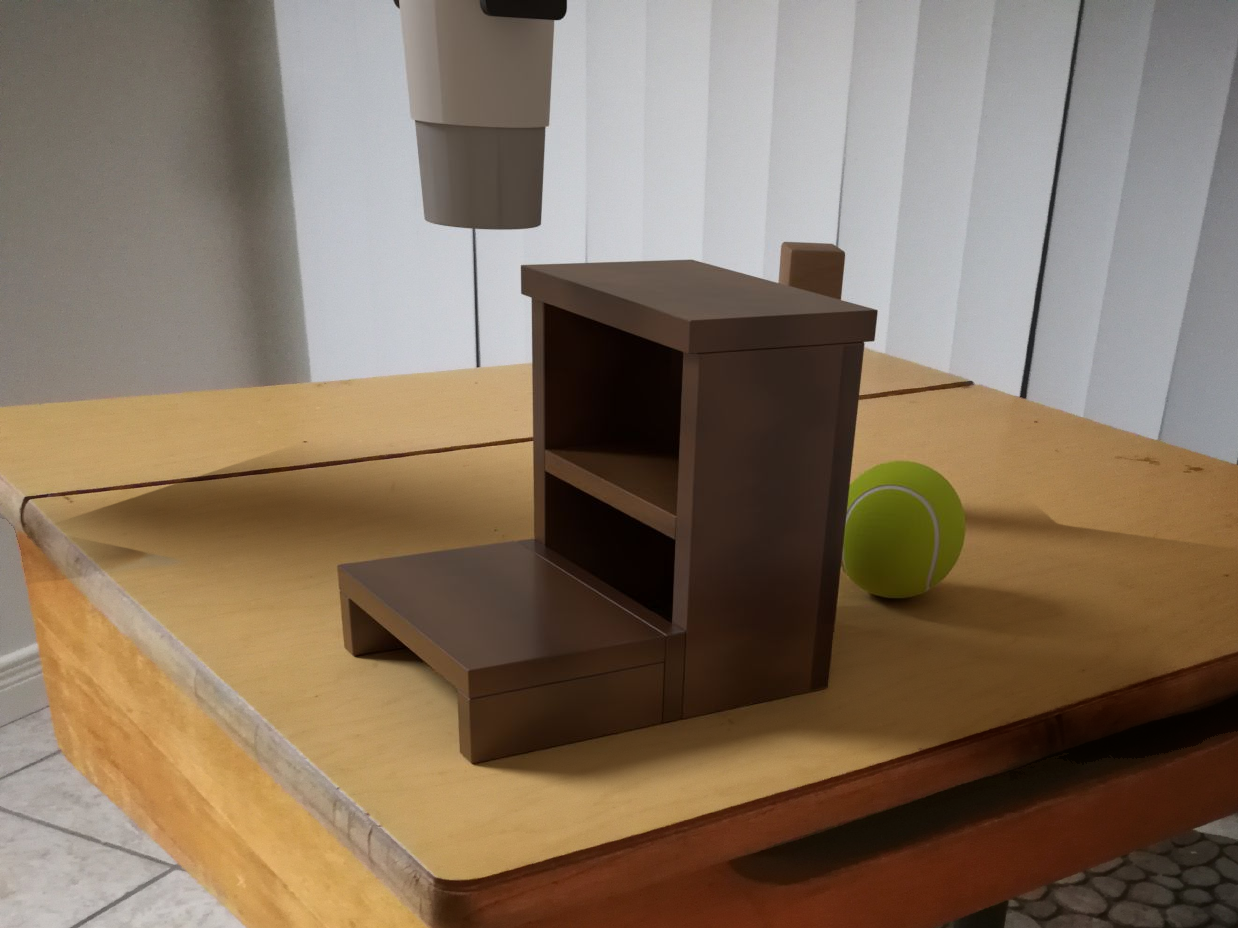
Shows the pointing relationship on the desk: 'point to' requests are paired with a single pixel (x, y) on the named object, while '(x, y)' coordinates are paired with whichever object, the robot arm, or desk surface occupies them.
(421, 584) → the shelf
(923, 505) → the tennis ball
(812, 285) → the wooden block
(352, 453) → the desk surface
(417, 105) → the cup
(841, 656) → the desk surface
